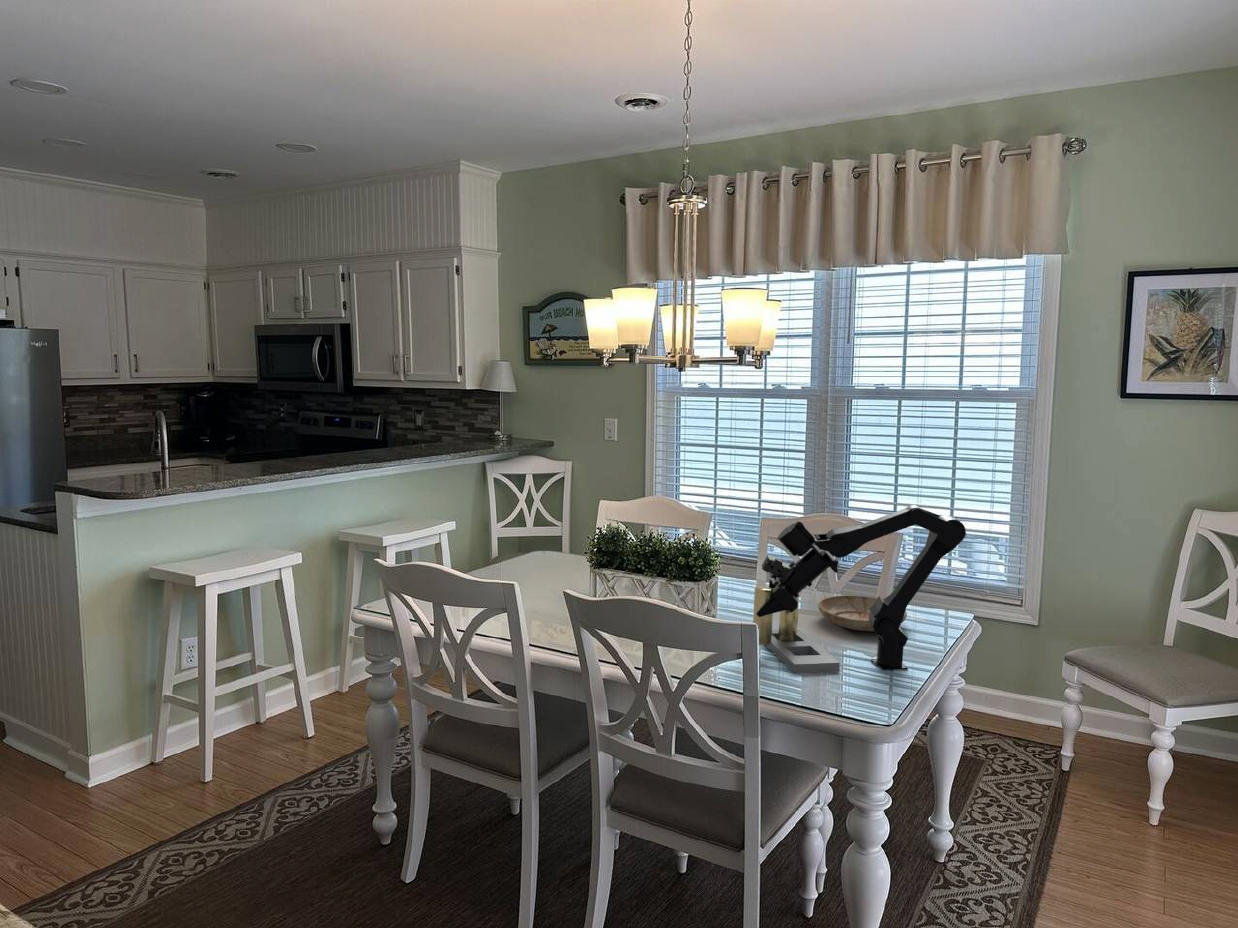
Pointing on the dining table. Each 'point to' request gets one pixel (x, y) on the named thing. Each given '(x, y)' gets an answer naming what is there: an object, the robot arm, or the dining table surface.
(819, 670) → the frame
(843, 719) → the dining table surface
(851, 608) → the ceramic bowl
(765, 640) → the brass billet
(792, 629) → the cylinder
